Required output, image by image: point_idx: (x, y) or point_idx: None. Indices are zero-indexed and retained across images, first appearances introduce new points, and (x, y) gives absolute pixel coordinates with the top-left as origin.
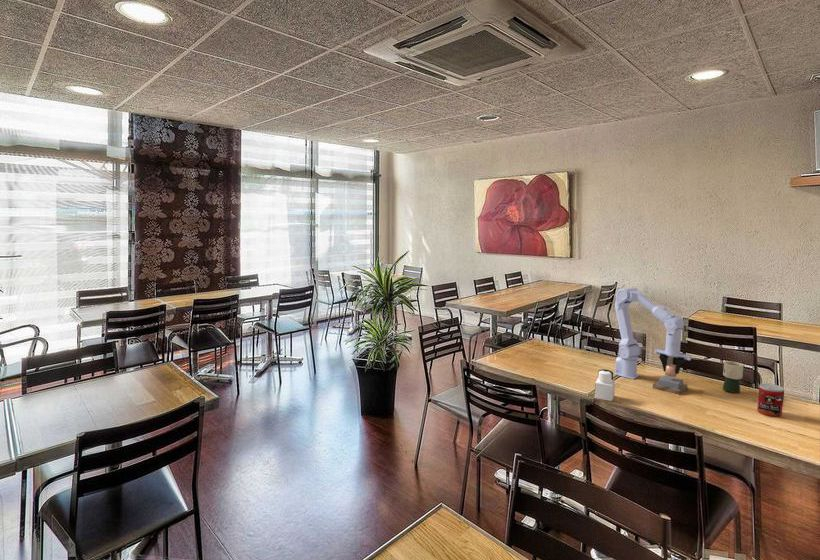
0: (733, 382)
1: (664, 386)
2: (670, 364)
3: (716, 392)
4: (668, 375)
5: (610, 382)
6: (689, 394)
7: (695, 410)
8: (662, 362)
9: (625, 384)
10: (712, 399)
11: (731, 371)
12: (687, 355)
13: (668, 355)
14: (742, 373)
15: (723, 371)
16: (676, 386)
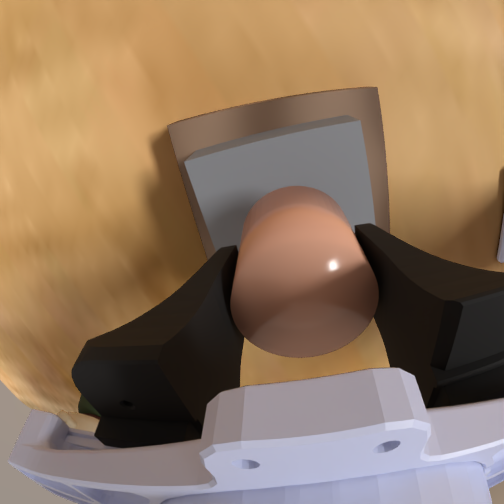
0: (81, 401)
1: (294, 117)
2: (338, 339)
3: None
4: (295, 188)
5: None
6: (151, 192)
7: (16, 5)
8: (430, 261)
9: (494, 32)
10: (60, 229)
11: None
12: (54, 487)
13: (350, 373)
14: None
15: None
16: (204, 151)
